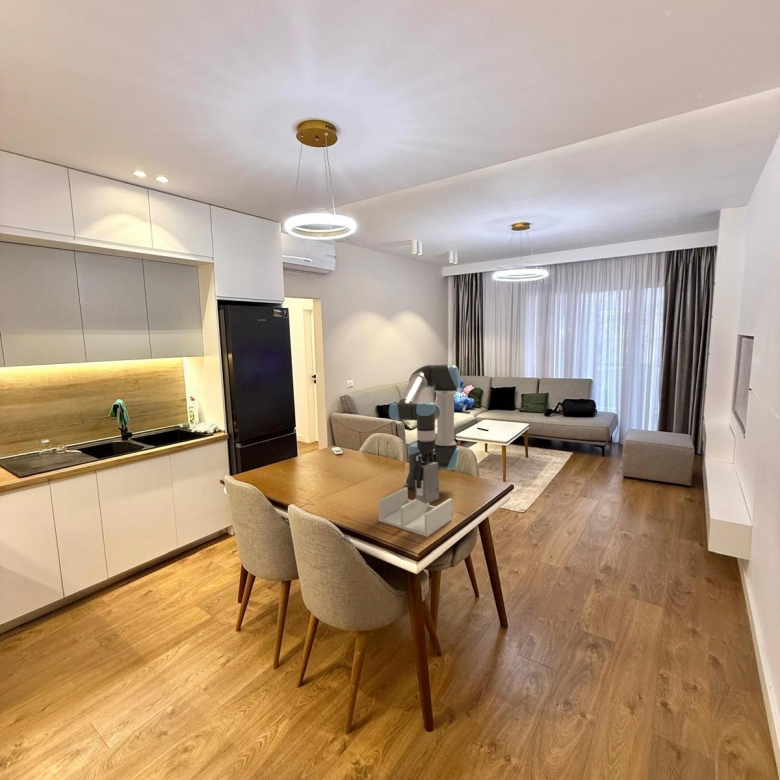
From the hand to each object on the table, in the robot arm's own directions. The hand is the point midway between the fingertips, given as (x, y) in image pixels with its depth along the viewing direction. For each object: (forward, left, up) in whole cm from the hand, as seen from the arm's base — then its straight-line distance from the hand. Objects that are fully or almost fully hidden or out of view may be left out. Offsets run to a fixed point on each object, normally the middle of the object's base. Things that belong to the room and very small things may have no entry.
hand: (426, 491), depth 171 cm
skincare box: (0, 0, -3) cm, 3 cm away
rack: (0, -6, -14) cm, 15 cm away
